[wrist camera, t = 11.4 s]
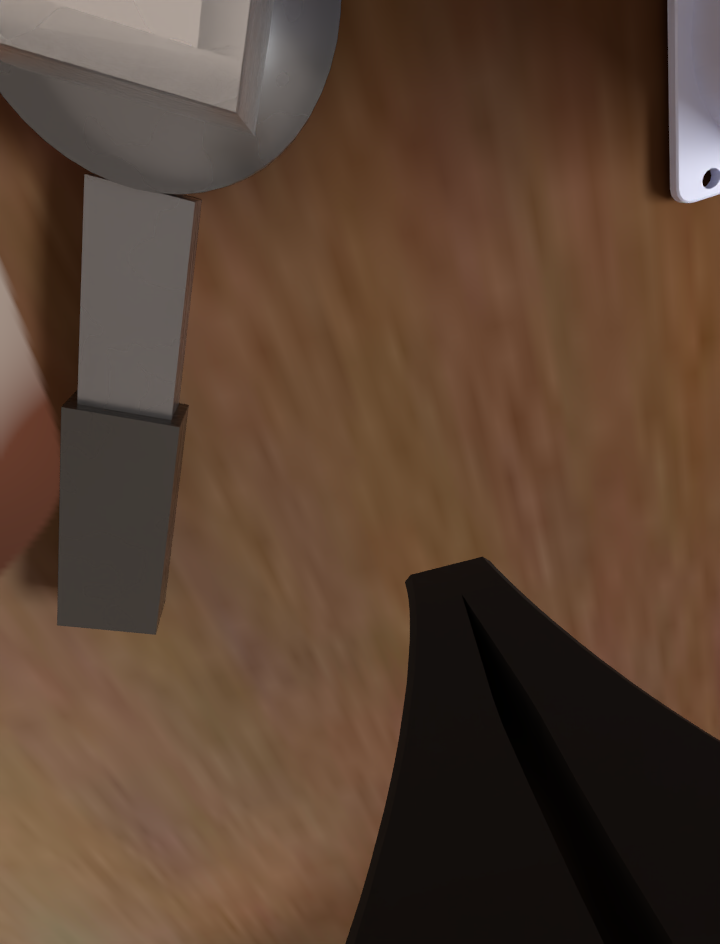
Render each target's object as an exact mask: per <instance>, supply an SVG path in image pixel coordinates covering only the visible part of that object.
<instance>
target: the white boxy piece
mask: <svg viewBox="0 0 720 944" xmlns="http://www.w3.org/2000/svg"><path fill="white" fill-rule="evenodd" d="M273 6H274V0H0V61H2V62H5V63H7V64H10V65H13V66H15V67H18V68H20V69H23V70H27V71H30V72H34V73H37V74H41V75H44V76H48V77H51V78H55V79H58V80H62V81H65V82H69V83H72V84H76V85H79V86H83V87H86V88H90V89H93V90H97V91H100V92H104V93H107V94H110V95H114V96H117V97H121V98H124V99H128V100H131V101H135V102H138V103H142V104H145V105H149V106H152V107H156V108H159V109H163V110H166V111H170V112H173V113H177V114H180V115H184V116H187V117H191V118H194V119H198V120H201V121H205V122H208V123H211V124H215V125H218V126H222V127H225V128H229V129H232V130H236V131H239V132H243V133H246V134H250V135H253V136H255V129H256V123H257V116H258V109H259V102H260V95H261V88H262V81H263V74H264V68H265V61H266V54H267V47H268V40H269V33H270V26H271V19H272V13H273Z"/></svg>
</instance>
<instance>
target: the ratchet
mask: <svg viewBox="0 0 720 944" xmlns="http://www.w3.org/2000/svg"><path fill="white" fill-rule="evenodd" d="M340 14H341V0H274V6H273V13H272V19H271V26H270V33H269V40H268V47H267V54H266V61H265V68H264V74H263V81H262V88H261V95H260V102H259V109H258V116H257V123H256V129H255V136H253V135H250V134H246V133H243V132H239V131H236V130H232V129H229V128H225V127H222V126H218V125H215V124H211V123H208V122H205V121H201V120H198V119H194V118H191V117H187V116H184V115H180V114H177V113H173V112H170V111H166V110H163V109H159V108H156V107H152V106H149V105H145V104H142V103H138V102H135V101H131V100H128V99H124V98H121V97H117V96H114V95H110V94H107V93H104V92H100V91H97V90H93V89H90V88H86V87H83V86H79V85H76V84H72V83H69V82H65V81H62V80H58V79H55V78H51V77H48V76H44V75H41V74H37V73H34V72H30V71H27V70H23V69H20V68H18V67H15V66H13V65H10V64H7V63H5V62H2V61H0V93H1V94H2V96H3V97H4V98H5V99H6V100H7V102H8V103H9V104H10V105H11V106H12V107H13V109H14V110H15V111H16V112H17V113H18V115H19V116H20V117H21V118H22V119H23V120H24V121H25V122H26V123H27V124H28V125H29V126H30V127H31V128H32V129H33V130H34V131H35V132H36V133H37V134H38V135H39V136H41V137H42V138H43V139H44V140H45V141H46V142H47V143H49V144H50V145H51V146H53V147H54V148H55V149H57V150H58V151H59V152H60V153H62V154H63V155H64V156H66V157H67V158H69V159H70V160H72V161H74V162H75V163H77V164H78V165H80V166H82V167H83V168H85V169H87V170H88V171H90V172H92V173H95V174H84V205H83V238H82V270H81V302H80V334H79V366H78V390H77V391H76V392H75V393H74V394H73V395H72V396H71V397H70V398H69V399H68V400H67V401H66V403H65V404H64V405H63V406H62V407H61V450H60V504H59V559H58V614H57V625H60V626H71V627H81V628H92V629H102V630H113V631H124V632H134V633H145V634H155V635H156V632H157V628H158V625H159V621H160V617H161V614H162V610H163V606H164V603H165V597H166V589H167V580H168V572H169V564H170V556H171V547H172V539H173V531H174V522H175V514H176V506H177V498H178V489H179V481H180V473H181V464H182V456H183V448H184V440H185V431H186V423H187V415H188V406H189V405H185V404H180V403H179V398H180V389H181V381H182V372H183V363H184V354H185V345H186V336H187V327H188V318H189V310H190V301H191V292H192V283H193V274H194V265H195V256H196V247H197V238H198V230H199V221H200V212H201V203H202V200H201V199H197V198H193V197H189V196H185V195H181V194H190V193H200V192H206V191H210V190H214V189H218V188H222V187H226V186H230V185H232V184H235V183H237V182H240V181H242V180H245V179H247V178H249V177H251V176H252V175H254V174H256V173H257V172H259V171H261V170H262V169H264V168H266V167H267V166H268V165H269V164H270V163H272V162H273V161H274V160H275V159H276V158H278V157H279V156H280V155H281V154H282V153H283V152H284V151H285V150H286V149H287V148H288V146H289V145H290V144H291V143H292V142H293V141H294V140H295V138H296V137H297V135H298V134H299V133H300V131H301V130H302V128H303V127H304V125H305V124H306V122H307V120H308V118H309V117H310V115H311V113H312V111H313V109H314V107H315V105H316V103H317V101H318V99H319V97H320V95H321V93H322V90H323V87H324V84H325V82H326V79H327V76H328V74H329V71H330V68H331V64H332V60H333V56H334V52H335V47H336V43H337V37H338V29H339V22H340Z"/></svg>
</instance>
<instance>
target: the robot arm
mask: <svg viewBox="0 0 720 944" xmlns="http://www.w3.org/2000/svg"><path fill="white" fill-rule="evenodd" d="M667 11H668V82H669V153H670V191H671V196H672V197H673V198H674V200H675V201H678V202H680V203H693V202H696V201H699V200H703V199H706V198H709V197H712V196H715V195H718V194H720V0H667ZM708 170H710V172H711V179H710V182H709V183H708V185H707V186H705V187H704V186H703V183H702V180H703V176H704V174H705V173H706V172H707V171H708ZM405 584H406V588H407V592H408V598H409V608H410V646H409V661H408V676H407V686H406V694H405V701H404V708H403V715H402V722H401V729H400V736H399V742H398V747H397V752H396V758H395V763H394V768H393V773H392V778H391V782H390V787H389V791H388V796H387V800H386V805H385V809H384V813H383V817H382V821H381V825H380V829H379V832H378V836H377V840H376V844H375V848H374V852H373V855H372V859H371V863H370V867H369V870H368V874H367V877H366V881H365V884H364V888H363V891H362V894H361V898H360V901H359V904H358V907H357V910H356V913H355V916H354V919H353V923H352V926H351V929H350V932H349V935H348V938H347V941H346V944H720V740H718V739H716V738H715V737H713V736H711V735H710V734H708V733H707V732H705V731H703V730H702V729H700V728H699V727H697V726H696V725H694V724H693V723H691V722H689V721H688V720H686V719H685V718H683V717H682V716H680V715H679V714H677V713H676V712H674V711H672V710H671V709H669V708H668V707H666V706H665V705H664V704H662V703H661V702H659V701H658V700H656V699H655V698H653V697H652V696H650V695H649V694H648V693H646V692H645V691H643V690H642V689H640V688H639V687H638V686H636V685H635V684H633V683H632V682H631V681H629V680H628V679H627V678H625V677H624V676H623V675H621V674H620V673H618V672H617V671H616V670H614V669H613V668H612V667H610V666H609V665H608V664H606V663H605V662H604V661H602V660H601V659H600V658H598V657H597V656H596V655H595V654H593V653H592V652H591V651H589V650H588V649H587V648H586V647H584V646H583V645H582V644H581V643H579V642H578V641H577V640H576V639H575V638H573V637H572V636H571V635H570V634H569V633H567V632H566V631H565V630H564V629H563V628H561V627H560V626H559V625H558V624H556V623H555V622H554V621H553V620H552V619H550V618H549V617H548V616H547V615H546V614H545V613H544V612H542V611H541V610H540V609H539V608H538V607H537V606H536V605H535V604H533V603H532V602H531V601H530V600H529V599H528V598H527V597H526V596H525V595H524V594H523V593H521V592H520V591H519V590H518V589H517V588H516V587H515V586H514V585H513V584H512V583H511V582H510V581H509V580H508V579H507V578H506V577H505V576H504V575H503V574H502V573H501V572H500V571H499V570H498V569H497V568H496V567H495V566H494V565H493V564H492V563H491V562H490V561H489V560H487V559H485V558H484V557H480V558H476V559H472V560H468V561H464V562H460V563H456V564H452V565H448V566H444V567H440V568H436V569H432V570H428V571H424V572H420V573H416V574H412V575H410V576H409V578H408V579H407V580H406V582H405Z"/></svg>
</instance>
